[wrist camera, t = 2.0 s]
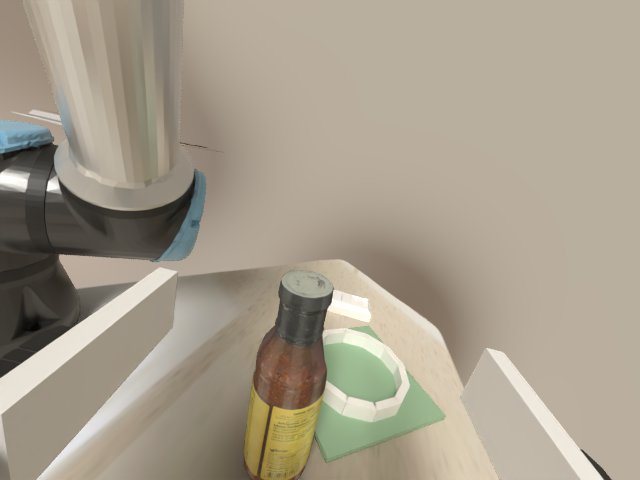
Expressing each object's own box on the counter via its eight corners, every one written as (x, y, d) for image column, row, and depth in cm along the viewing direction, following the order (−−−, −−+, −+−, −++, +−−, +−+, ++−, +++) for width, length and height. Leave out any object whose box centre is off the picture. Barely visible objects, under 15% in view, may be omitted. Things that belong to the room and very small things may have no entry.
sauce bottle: (315, 449, 30) (367, 284, 23) (283, 512, 25) (339, 323, 18) (264, 415, 33) (297, 255, 26) (224, 467, 27) (252, 282, 20)
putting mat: (273, 339, 44) (276, 325, 43) (367, 328, 53) (372, 316, 52) (326, 462, 30) (332, 445, 29) (444, 419, 38) (452, 404, 38)
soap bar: (325, 297, 60) (328, 286, 59) (367, 309, 60) (371, 299, 59) (322, 311, 55) (325, 299, 54) (368, 324, 55) (372, 312, 54)
